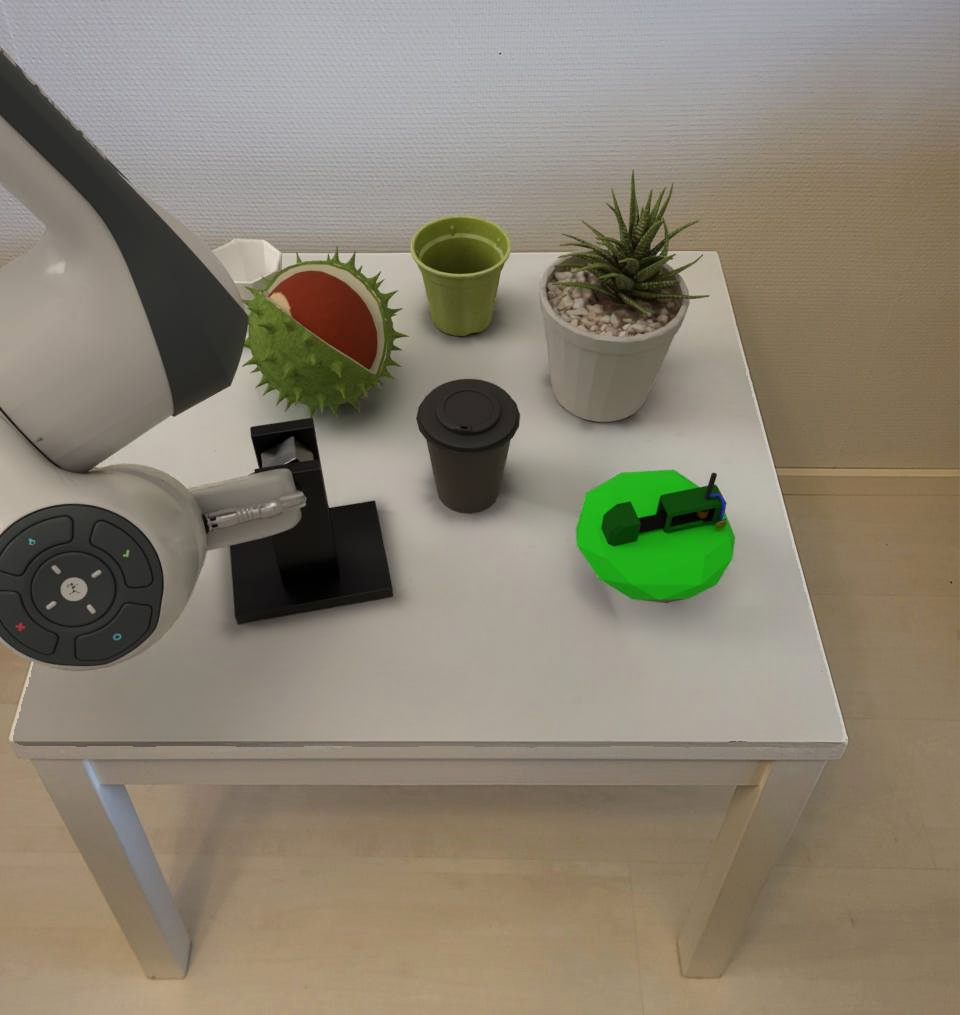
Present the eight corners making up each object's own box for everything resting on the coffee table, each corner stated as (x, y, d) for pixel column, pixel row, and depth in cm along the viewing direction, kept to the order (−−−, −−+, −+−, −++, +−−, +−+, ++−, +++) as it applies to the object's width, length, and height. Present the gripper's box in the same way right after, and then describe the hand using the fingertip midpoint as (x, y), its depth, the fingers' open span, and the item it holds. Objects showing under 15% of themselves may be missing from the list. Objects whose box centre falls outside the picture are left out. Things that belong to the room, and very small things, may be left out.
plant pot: (398, 334, 94) (393, 260, 87) (437, 278, 100) (435, 205, 93) (487, 359, 92) (488, 286, 85) (521, 301, 98) (525, 227, 91)
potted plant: (686, 443, 85) (735, 255, 70) (531, 437, 86) (546, 249, 70) (673, 347, 93) (715, 160, 78) (531, 343, 94) (544, 155, 78)
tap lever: (162, 568, 71) (131, 549, 68) (162, 534, 73) (131, 514, 70) (320, 484, 67) (293, 460, 65) (315, 451, 69) (289, 426, 67)
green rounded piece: (685, 499, 81) (711, 406, 73) (743, 612, 74) (780, 525, 66) (550, 526, 79) (560, 435, 71) (596, 646, 72) (614, 560, 64)
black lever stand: (237, 624, 73) (198, 511, 62) (230, 532, 79) (193, 414, 68) (393, 597, 75) (381, 482, 64) (376, 509, 80) (362, 389, 70)
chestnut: (461, 295, 84) (375, 370, 73) (399, 403, 94) (316, 483, 83) (323, 191, 84) (217, 251, 73) (276, 310, 94) (176, 378, 83)
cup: (230, 359, 92) (212, 291, 85) (211, 295, 98) (193, 227, 91) (302, 342, 93) (290, 274, 87) (279, 281, 99) (266, 213, 93)
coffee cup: (440, 538, 79) (436, 456, 71) (407, 468, 83) (401, 384, 75) (531, 510, 80) (537, 427, 73) (494, 443, 85) (497, 359, 77)
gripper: (295, 448, 56) (288, 443, 69) (-81, 529, 52) (-12, 508, 65) (320, 552, 57) (308, 528, 70) (-49, 641, 53) (13, 597, 66)
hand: (151, 519), depth 68 cm, fingers closed
